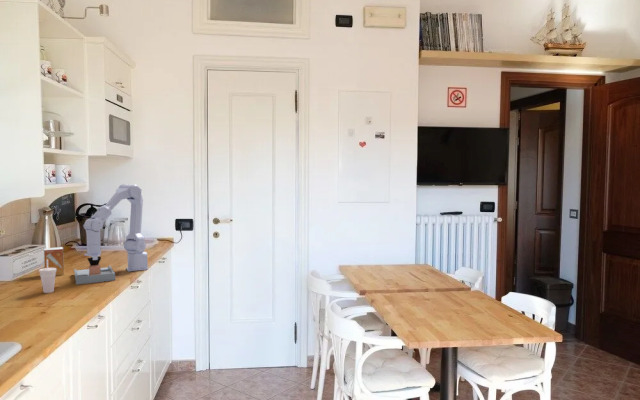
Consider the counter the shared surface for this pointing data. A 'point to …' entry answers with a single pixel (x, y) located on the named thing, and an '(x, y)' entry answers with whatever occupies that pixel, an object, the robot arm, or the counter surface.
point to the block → (94, 270)
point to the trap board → (94, 276)
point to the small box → (54, 259)
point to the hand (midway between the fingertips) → (94, 272)
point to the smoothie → (48, 278)
